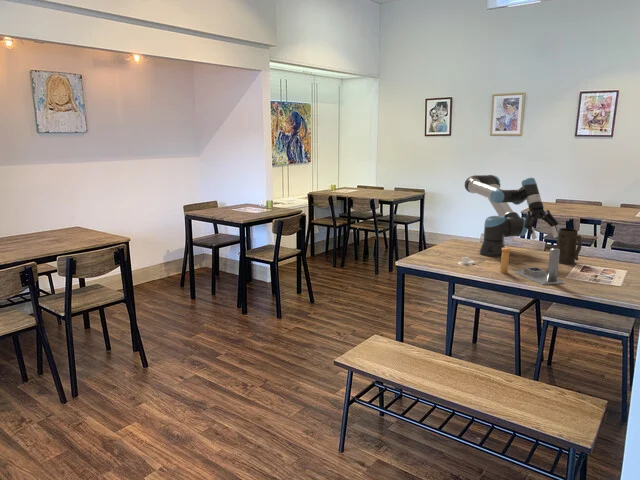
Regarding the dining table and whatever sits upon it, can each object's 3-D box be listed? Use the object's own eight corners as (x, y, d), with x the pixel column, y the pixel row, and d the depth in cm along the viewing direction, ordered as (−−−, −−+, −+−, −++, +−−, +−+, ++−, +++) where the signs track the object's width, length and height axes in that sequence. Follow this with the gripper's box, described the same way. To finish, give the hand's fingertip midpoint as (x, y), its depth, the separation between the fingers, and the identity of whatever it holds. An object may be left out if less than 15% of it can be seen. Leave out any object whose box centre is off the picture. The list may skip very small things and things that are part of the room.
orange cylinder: (497, 271, 250) (499, 247, 248) (505, 270, 251) (507, 247, 249) (502, 273, 246) (504, 249, 243) (510, 273, 247) (512, 249, 244)
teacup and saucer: (475, 263, 267) (475, 257, 266) (472, 267, 261) (472, 260, 260) (459, 261, 272) (460, 255, 271) (456, 264, 265) (456, 258, 264)
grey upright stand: (514, 272, 248) (517, 241, 244) (534, 271, 251) (537, 240, 247) (543, 285, 226) (547, 250, 223) (565, 283, 229) (568, 249, 225)
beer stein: (549, 260, 273) (554, 228, 268) (561, 258, 278) (566, 226, 272) (572, 268, 260) (579, 234, 255) (584, 266, 265) (591, 232, 260)
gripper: (519, 201, 262) (529, 236, 255) (558, 199, 267) (569, 234, 260) (511, 207, 269) (521, 241, 262) (549, 205, 274) (560, 239, 267)
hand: (545, 238), depth 261 cm, fingers open, 13 cm apart
